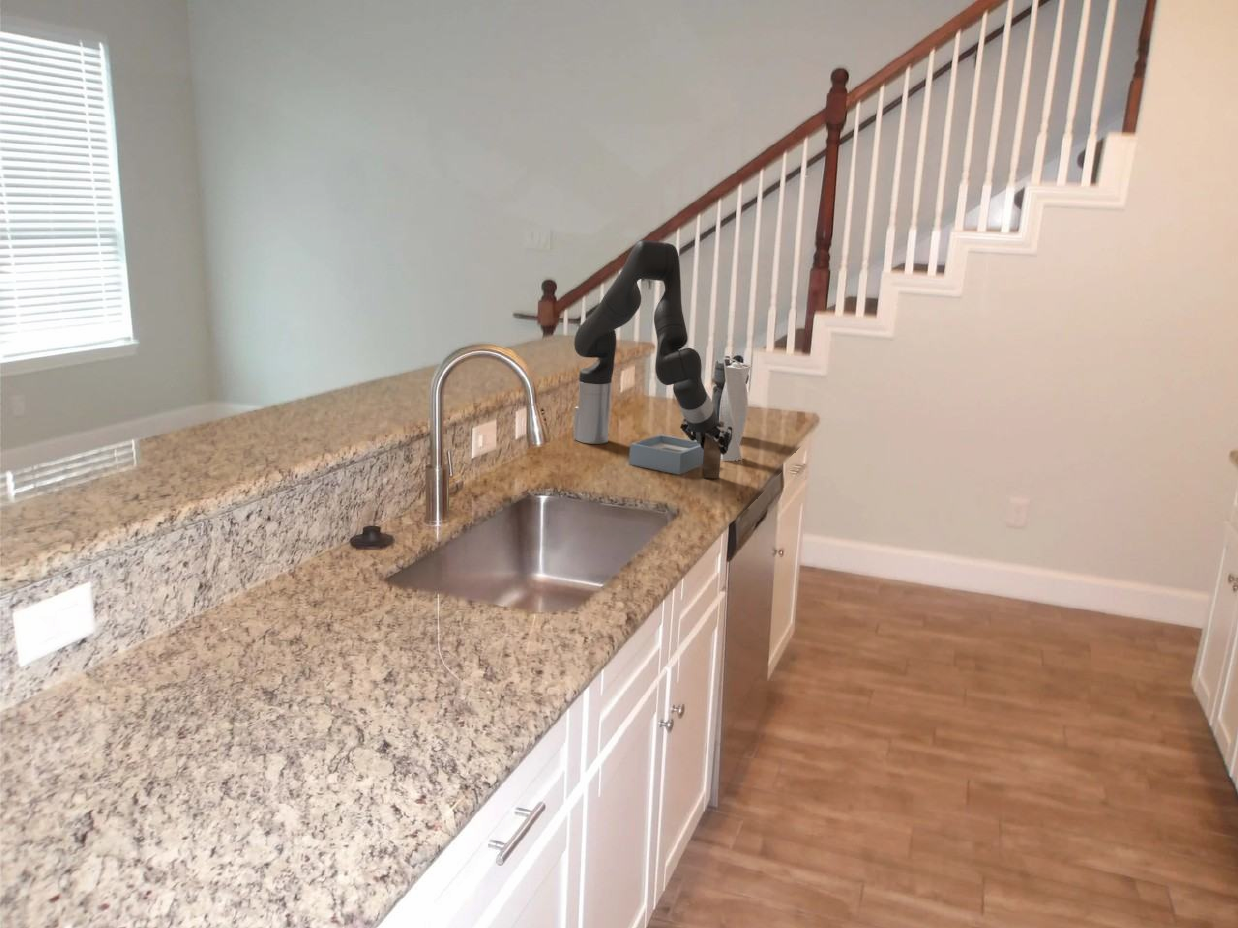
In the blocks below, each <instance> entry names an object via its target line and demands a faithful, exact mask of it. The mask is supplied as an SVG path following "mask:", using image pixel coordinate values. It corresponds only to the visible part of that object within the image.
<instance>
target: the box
mask: <svg viewBox="0 0 1238 928" xmlns="http://www.w3.org/2000/svg"><path fill="white" fill-rule="evenodd" d="M703 454H704V450H703V449H702V448H701V446H700V443H698V442H697V440H694V441H692V440H690V439H689V438H687V439H686V438H682V437H681V438H680V437H677V436H671V435H666V434H657V435H654V436H650V437H648V438H644V439H641V440H638V441H635V442H631V443H629V454H628V455H629V456H628V465H631V466H634V467H635V466H636V467H641V468H646V469H650V470H654V471H658V472H659V471H660V472H664V473H665V472H666V473H669V474H675V475H677V476H679V475H682V474H684V473H687V472H689V471H692V470H694V469H697V468H699V467H702V466H703Z"/></svg>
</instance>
